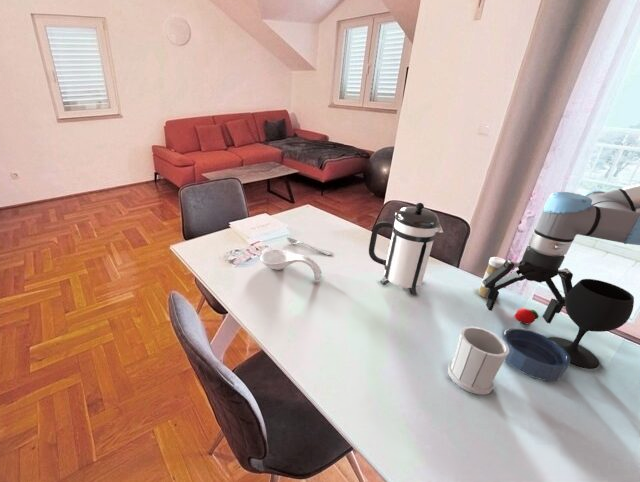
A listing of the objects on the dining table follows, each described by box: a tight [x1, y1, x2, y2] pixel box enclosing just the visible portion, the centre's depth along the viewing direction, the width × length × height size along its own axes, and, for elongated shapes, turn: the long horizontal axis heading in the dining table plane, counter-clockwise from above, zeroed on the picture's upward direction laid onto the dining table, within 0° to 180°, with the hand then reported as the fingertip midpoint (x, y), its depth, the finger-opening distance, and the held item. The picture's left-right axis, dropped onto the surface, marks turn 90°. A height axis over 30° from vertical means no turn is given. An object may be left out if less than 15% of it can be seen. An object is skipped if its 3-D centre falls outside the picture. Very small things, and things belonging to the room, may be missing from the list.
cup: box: [447, 326, 509, 395], centre depth 72 cm, size 10×9×12 cm
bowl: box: [501, 327, 571, 381], centre depth 78 cm, size 12×12×5 cm
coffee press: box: [368, 202, 444, 296], centre depth 104 cm, size 17×16×30 cm
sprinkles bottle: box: [477, 256, 507, 299], centre depth 101 cm, size 5×5×13 cm
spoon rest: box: [259, 249, 323, 283], centre depth 116 cm, size 24×12×7 cm, turn 56°
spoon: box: [285, 237, 332, 256], centre depth 133 cm, size 4×21×2 cm, turn 54°
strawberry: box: [514, 308, 539, 325], centre depth 91 cm, size 4×4×5 cm
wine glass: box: [548, 278, 635, 370], centre depth 77 cm, size 10×10×20 cm
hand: (516, 313), depth 91 cm, fingers open, 13 cm apart
